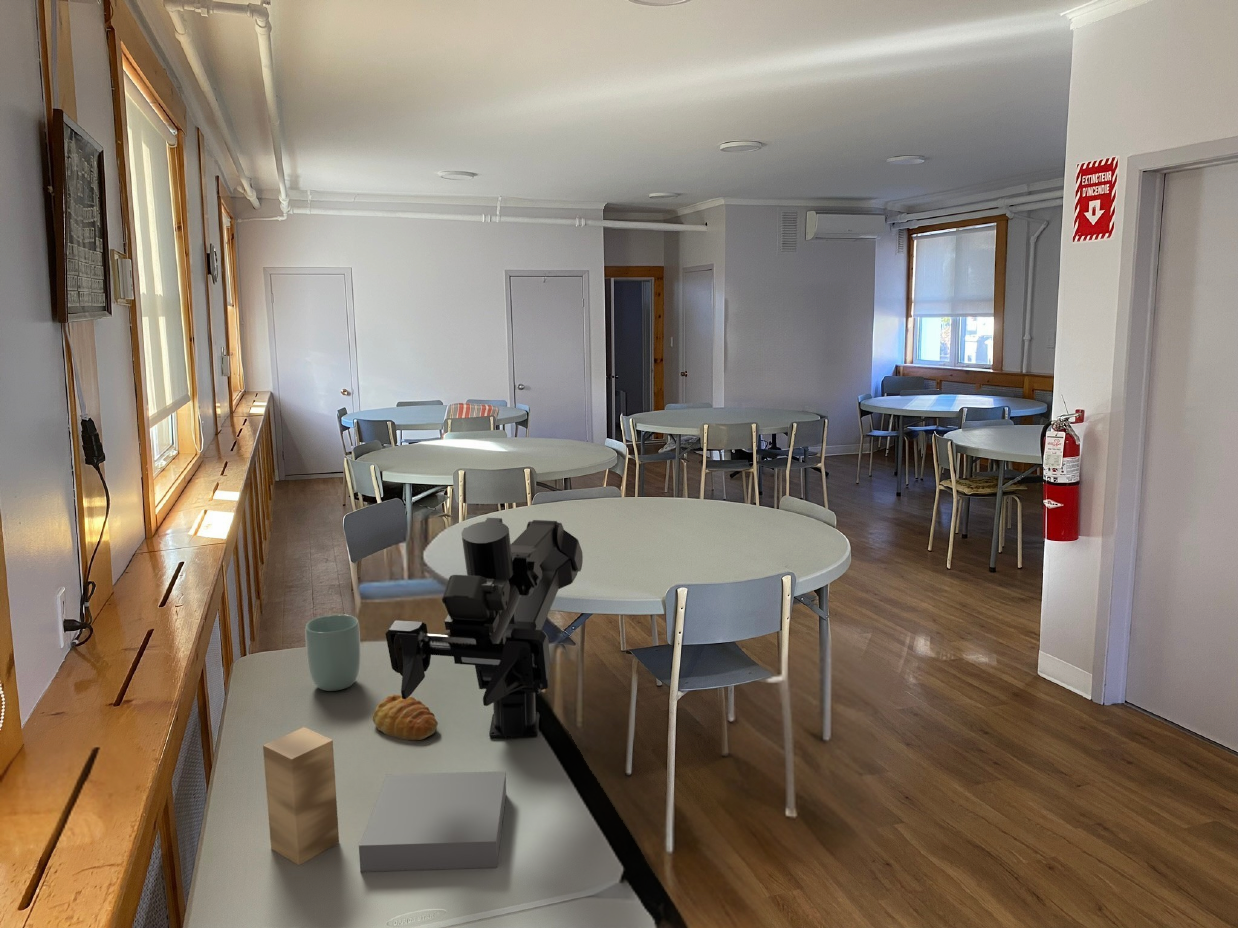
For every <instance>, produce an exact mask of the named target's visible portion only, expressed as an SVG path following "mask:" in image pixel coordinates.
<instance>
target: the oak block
mask: <svg viewBox="0 0 1238 928" xmlns="http://www.w3.org/2000/svg"><path fill="white" fill-rule="evenodd" d="M333 742H334V741H333V739H331V738H329V737H327V736H324V735H323V734H320V733H318V732H316V731H313V730H311V729H310V728H307V727H306V726H305V727H304V726H303V727H301V728H299V729H297V730H294V731H292V732H290V733H287V734H285V735H282V736H281V737H278V738H276V739H274V740H272V741H269V742H267V743H264V744H263V745H262V750H263V752H262V753H263V761H264V762H263V763H264V775H265V776H264V777H265V789H266V802H267V812H268V826H269V836H270V837H269V839H270V849H271V850H273V851H274V852H276V853H278V854H280V855H282V856H283V857H284V858H286V859H288V860H289V861H291V862H293V863H295V864H296V865H298V866H301V865H302V864H304V863H307V861H309V860H311V859H313V858H314V857H316V856H318V855H319V854H322V853H323V852H325V851H326V850H328V849H330V848H333V846H335V845H338V844H339V843H340V836H339V821H338V820H339V818H338V804H337V803H338V802H337V801H338V800H337V789H336V774H335V773H336V772H335V758H334V756H335V755H334V754H335V753H334V743H333Z"/></svg>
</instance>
